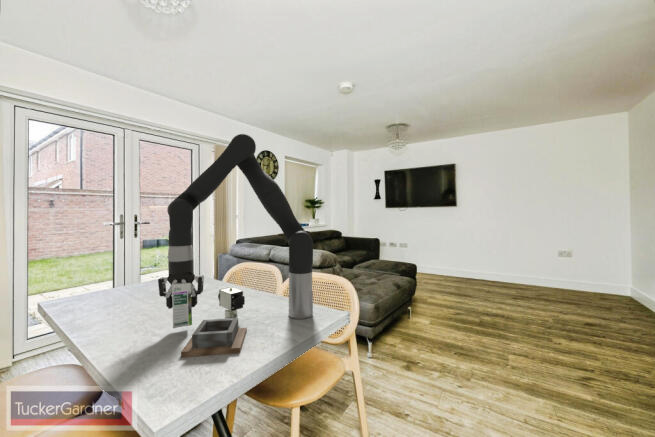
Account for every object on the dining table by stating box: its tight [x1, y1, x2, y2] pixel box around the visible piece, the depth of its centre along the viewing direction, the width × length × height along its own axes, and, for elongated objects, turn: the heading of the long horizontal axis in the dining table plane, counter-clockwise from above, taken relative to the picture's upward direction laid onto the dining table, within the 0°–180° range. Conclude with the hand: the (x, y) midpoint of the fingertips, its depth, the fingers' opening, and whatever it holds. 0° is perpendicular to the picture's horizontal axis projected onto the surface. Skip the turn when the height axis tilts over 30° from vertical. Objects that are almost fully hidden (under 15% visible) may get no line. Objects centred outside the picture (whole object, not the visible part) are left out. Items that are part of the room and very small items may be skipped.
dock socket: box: [180, 317, 248, 358], centre depth 85 cm, size 16×14×6 cm
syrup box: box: [172, 282, 193, 329], centre depth 94 cm, size 6×6×14 cm
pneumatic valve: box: [217, 286, 246, 319], centre depth 105 cm, size 6×12×12 cm, turn 50°
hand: (182, 307), depth 94 cm, fingers closed on syrup box, 6 cm apart
